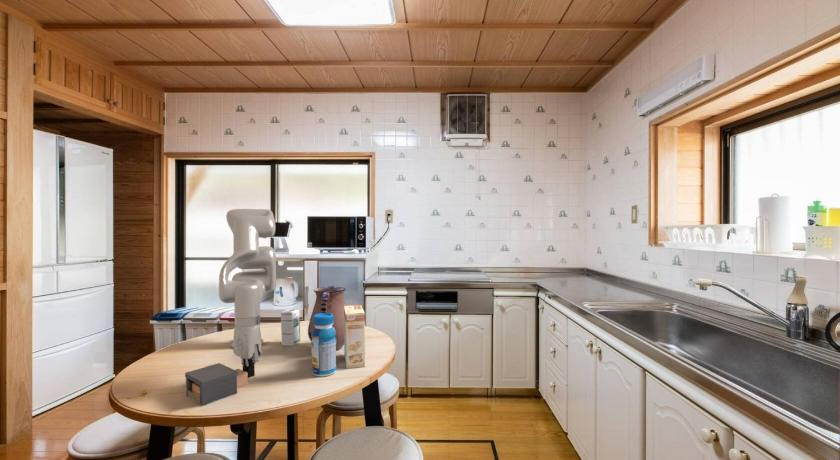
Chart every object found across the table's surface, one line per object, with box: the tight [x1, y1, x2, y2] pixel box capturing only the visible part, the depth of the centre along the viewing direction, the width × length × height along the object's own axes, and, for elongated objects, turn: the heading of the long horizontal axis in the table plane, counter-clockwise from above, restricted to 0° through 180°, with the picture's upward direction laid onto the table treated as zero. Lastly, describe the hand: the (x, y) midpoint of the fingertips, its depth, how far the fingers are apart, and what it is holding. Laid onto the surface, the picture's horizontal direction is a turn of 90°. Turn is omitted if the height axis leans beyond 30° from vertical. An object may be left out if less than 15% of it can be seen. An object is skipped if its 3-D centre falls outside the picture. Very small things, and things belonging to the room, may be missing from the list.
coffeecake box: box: [343, 304, 366, 369], centre depth 140 cm, size 15×7×20 cm, turn 14°
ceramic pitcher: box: [307, 285, 347, 351], centre depth 153 cm, size 18×21×25 cm
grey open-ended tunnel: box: [184, 362, 238, 407], centre depth 113 cm, size 12×10×7 cm
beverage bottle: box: [310, 313, 337, 377], centre depth 129 cm, size 8×8×20 cm
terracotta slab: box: [192, 368, 249, 394], centre depth 115 cm, size 6×14×4 cm, turn 143°
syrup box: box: [280, 308, 301, 347], centre depth 161 cm, size 6×6×14 cm
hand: (248, 376), depth 122 cm, fingers closed
